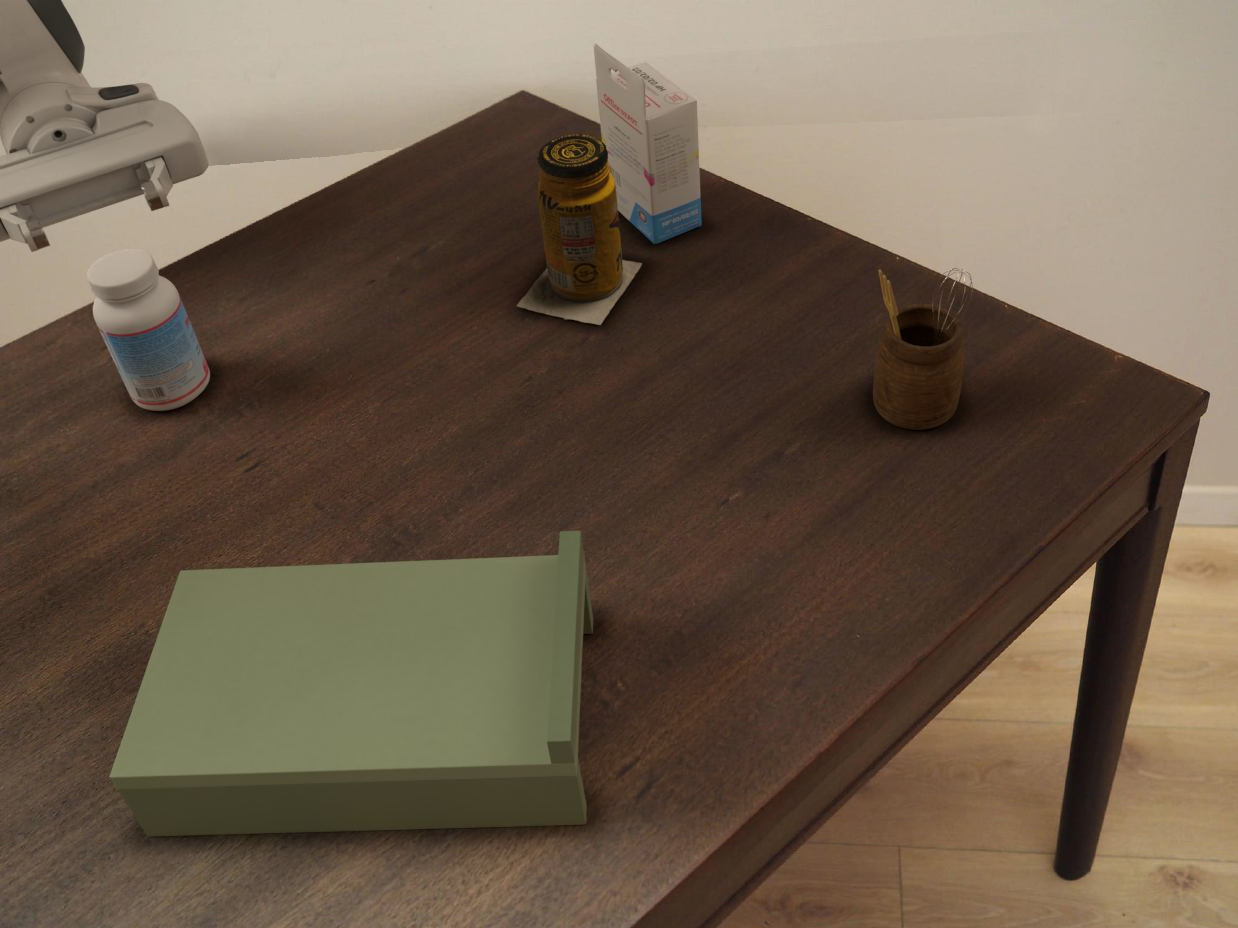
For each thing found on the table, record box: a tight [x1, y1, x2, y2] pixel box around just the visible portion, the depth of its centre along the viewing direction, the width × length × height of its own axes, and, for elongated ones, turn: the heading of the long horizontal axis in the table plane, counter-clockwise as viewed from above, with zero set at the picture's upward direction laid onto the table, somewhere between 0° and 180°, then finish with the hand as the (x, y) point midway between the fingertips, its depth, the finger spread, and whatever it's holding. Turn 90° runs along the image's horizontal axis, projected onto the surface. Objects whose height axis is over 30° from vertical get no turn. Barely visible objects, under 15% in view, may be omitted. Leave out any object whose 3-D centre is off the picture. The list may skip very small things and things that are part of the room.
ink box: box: [593, 43, 703, 245], centre depth 104 cm, size 8×5×15 cm, turn 29°
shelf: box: [109, 530, 594, 837], centre depth 71 cm, size 24×14×8 cm, turn 89°
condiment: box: [516, 133, 643, 326], centre depth 98 cm, size 7×8×12 cm
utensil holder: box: [872, 267, 974, 431], centre depth 85 cm, size 6×6×12 cm
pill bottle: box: [86, 248, 211, 412], centre depth 93 cm, size 6×6×11 cm
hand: (98, 221), depth 99 cm, fingers open, 8 cm apart
